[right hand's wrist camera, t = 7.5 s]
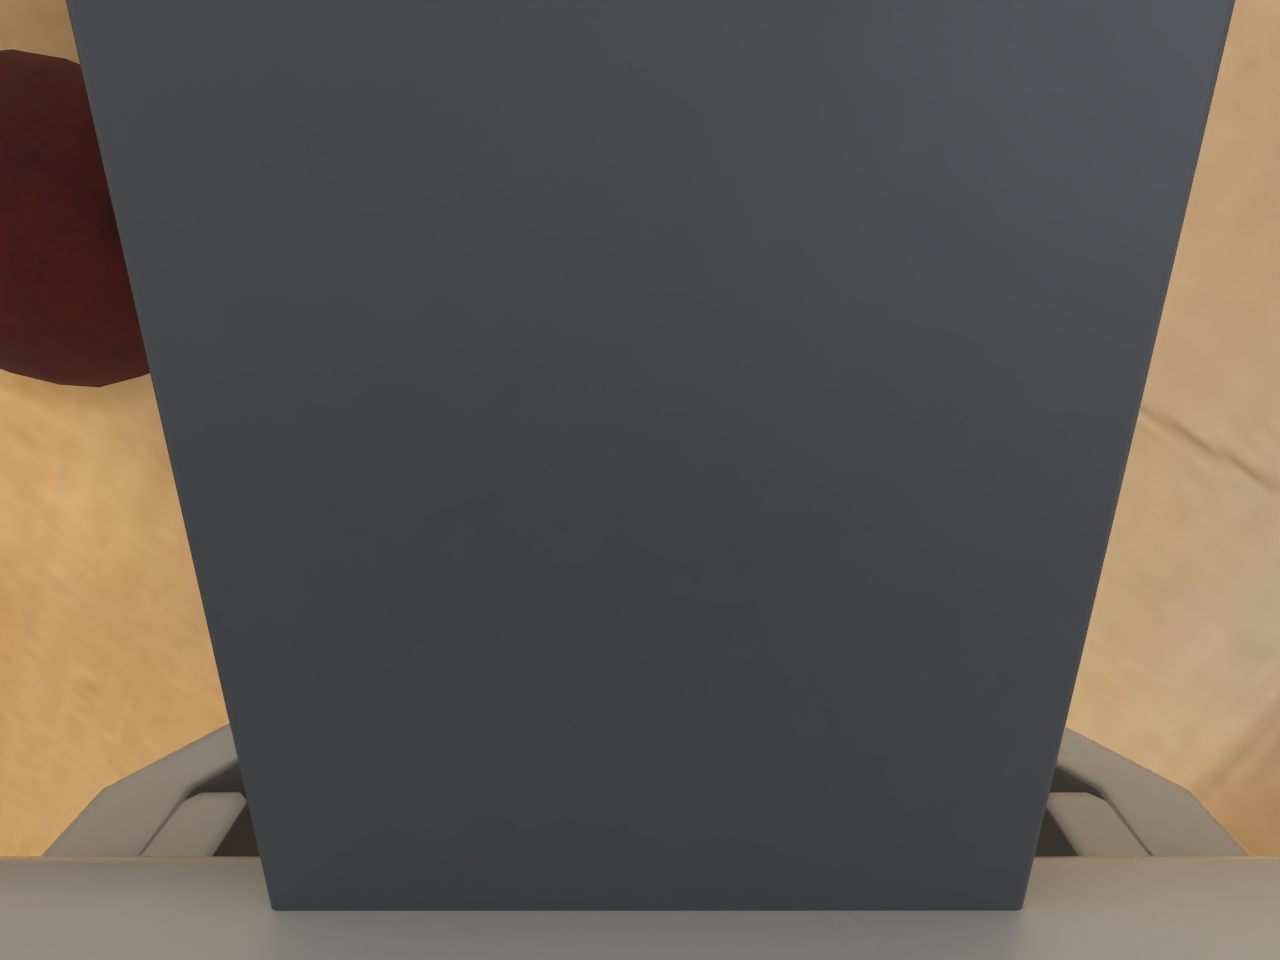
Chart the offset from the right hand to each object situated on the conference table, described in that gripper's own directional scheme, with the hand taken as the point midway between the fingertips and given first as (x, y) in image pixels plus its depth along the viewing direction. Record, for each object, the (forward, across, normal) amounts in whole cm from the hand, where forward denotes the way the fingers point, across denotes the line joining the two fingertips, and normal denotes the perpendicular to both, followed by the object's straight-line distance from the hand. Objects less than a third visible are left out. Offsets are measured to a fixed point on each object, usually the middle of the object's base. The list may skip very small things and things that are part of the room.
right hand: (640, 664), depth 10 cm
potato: (+14, +14, -5) cm, 20 cm away
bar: (+3, 0, -10) cm, 11 cm away
